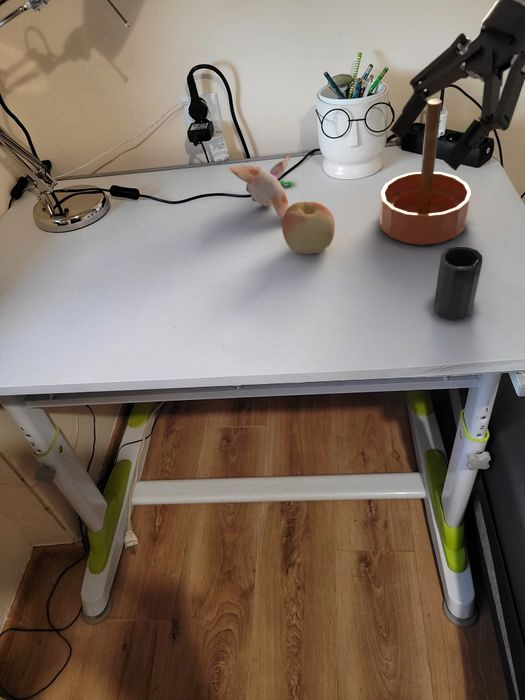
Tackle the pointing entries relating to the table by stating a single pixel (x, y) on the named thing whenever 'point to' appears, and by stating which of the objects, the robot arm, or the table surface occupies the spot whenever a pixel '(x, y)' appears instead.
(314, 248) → the apple
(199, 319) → the table surface
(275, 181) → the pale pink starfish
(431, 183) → the stick
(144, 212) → the table surface
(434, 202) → the bowl
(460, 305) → the utensil pot
